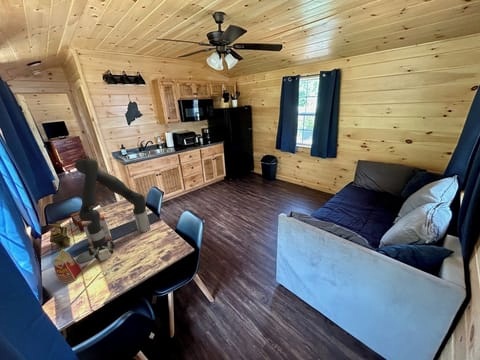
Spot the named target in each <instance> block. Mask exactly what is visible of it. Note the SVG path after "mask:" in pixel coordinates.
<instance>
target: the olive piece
mask: <svg viewBox="0 0 480 360" xmlns="http://www.w3.org/2000/svg"><path fill="white" fill-rule="evenodd" d="M47 225H49V226H54V229H52V231H51V233H50V236H49V237H50V238H49V242H50V243H53V244H55V245H56V248H55V250H56V251H61V249H62V248H63V250H64V249H66V248H70V246H71V237H70V236H69V235H68V226H61V222H60V221H56V223H55V224H54V223H52V224H50V223H48V224H47Z"/></svg>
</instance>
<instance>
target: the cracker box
mask: <svg viewBox="0 0 480 360" xmlns="http://www.w3.org/2000/svg"><path fill="white" fill-rule="evenodd" d="M89 223H92V222H91V221H82V225H83V228H84V231H83V232H84V234H85V235H86V238H87V241H88V244H89V246H91V247H92V246H93V244H92V241H91V239H90V235H89V232H88V229H87V225H88V224H89ZM100 225H101V228H102V230H103V232H104V235H105V238H106V241H107V242H108V241H110V240H112V234H111V232H110V229H109V225H108V222H107V219H106V216H105V214H104V213H102V214H100Z"/></svg>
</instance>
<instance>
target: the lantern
mask: <svg viewBox="0 0 480 360" xmlns="http://www.w3.org/2000/svg"><path fill="white" fill-rule="evenodd" d="M79 213H80V211H78V212H76V213H72V214H70V218H71V221H72V223H73V225H74V226H77V228H78V230H79V231H80V232H85V231H84V228H83V225H82V220H81V219H80V218H79Z"/></svg>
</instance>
